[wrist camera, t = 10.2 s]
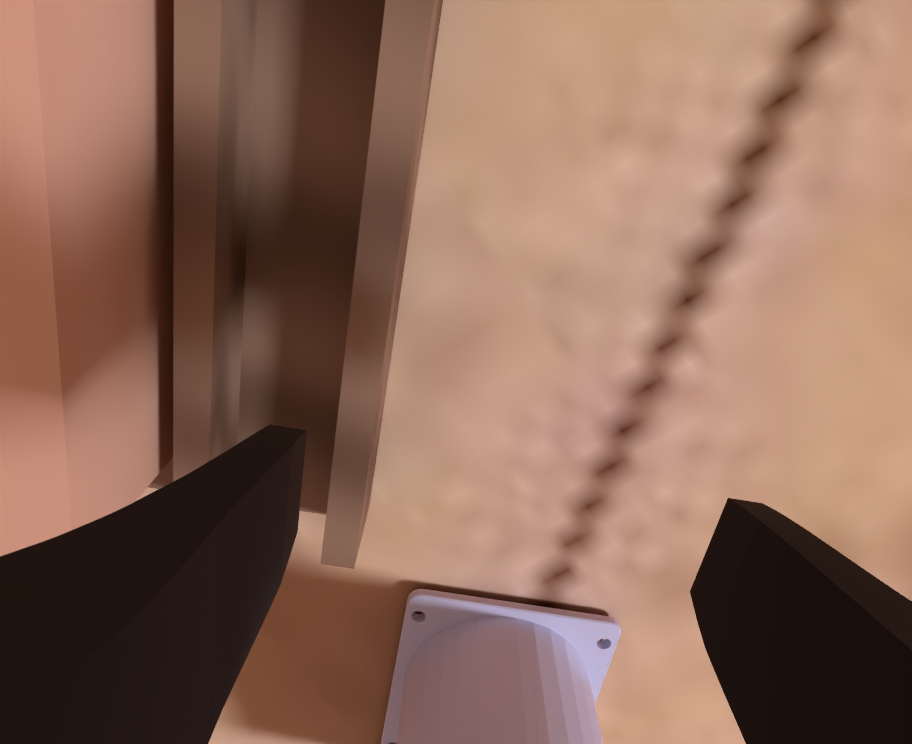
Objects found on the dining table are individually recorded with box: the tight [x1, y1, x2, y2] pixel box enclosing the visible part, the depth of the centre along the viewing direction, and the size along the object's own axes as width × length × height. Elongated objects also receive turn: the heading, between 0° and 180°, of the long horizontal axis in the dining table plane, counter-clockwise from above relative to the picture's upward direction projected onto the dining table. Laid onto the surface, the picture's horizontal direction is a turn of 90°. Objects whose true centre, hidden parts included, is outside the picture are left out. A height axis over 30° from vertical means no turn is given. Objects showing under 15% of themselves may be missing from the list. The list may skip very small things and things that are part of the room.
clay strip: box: [0, 0, 174, 556], centre depth 14 cm, size 16×2×6 cm, turn 170°
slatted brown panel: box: [148, 0, 443, 569], centre depth 16 cm, size 20×14×3 cm
